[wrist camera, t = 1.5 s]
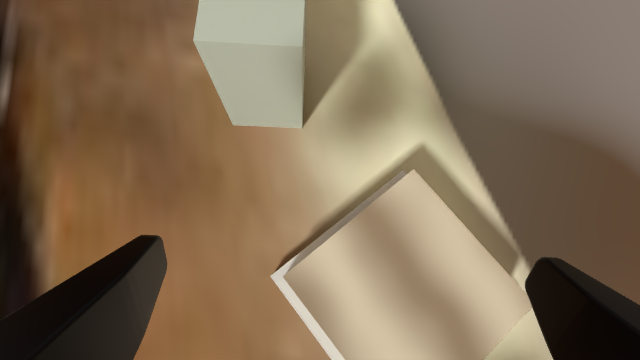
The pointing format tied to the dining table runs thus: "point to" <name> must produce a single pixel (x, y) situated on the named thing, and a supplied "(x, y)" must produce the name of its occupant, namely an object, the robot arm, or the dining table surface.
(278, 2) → the sage block
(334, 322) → the birch slab
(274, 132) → the dining table surface
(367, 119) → the dining table surface
